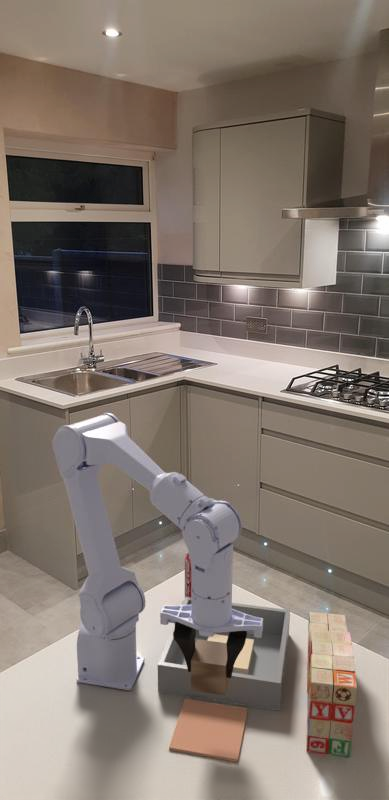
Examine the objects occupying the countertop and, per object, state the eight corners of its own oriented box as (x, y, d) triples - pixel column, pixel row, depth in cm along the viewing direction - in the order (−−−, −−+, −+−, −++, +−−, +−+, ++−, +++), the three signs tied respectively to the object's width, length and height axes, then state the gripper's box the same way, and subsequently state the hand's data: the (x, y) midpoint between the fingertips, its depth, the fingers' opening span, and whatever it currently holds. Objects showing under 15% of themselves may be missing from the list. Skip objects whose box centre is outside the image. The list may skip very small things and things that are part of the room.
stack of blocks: (306, 657, 113) (310, 595, 109) (342, 661, 112) (347, 598, 108) (306, 753, 92) (310, 681, 89) (351, 759, 92) (357, 686, 88)
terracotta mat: (169, 749, 93) (169, 747, 93) (184, 700, 102) (184, 698, 102) (237, 761, 91) (237, 759, 91) (247, 711, 100) (247, 708, 100)
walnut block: (190, 690, 93) (191, 660, 92) (198, 667, 98) (198, 639, 96) (225, 695, 92) (225, 665, 91) (230, 672, 97) (231, 643, 95)
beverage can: (205, 619, 123) (206, 563, 120) (178, 608, 126) (178, 554, 123) (222, 603, 128) (222, 549, 125) (195, 593, 131) (195, 540, 128)
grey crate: (158, 693, 104) (157, 664, 103) (185, 622, 123) (185, 596, 121) (279, 712, 100) (280, 683, 99) (288, 636, 119) (290, 610, 117)
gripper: (153, 597, 88) (155, 681, 91) (260, 611, 85) (256, 697, 88) (167, 570, 94) (167, 650, 98) (265, 582, 91) (262, 664, 95)
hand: (210, 670), depth 94 cm, fingers closed on walnut block, 5 cm apart
